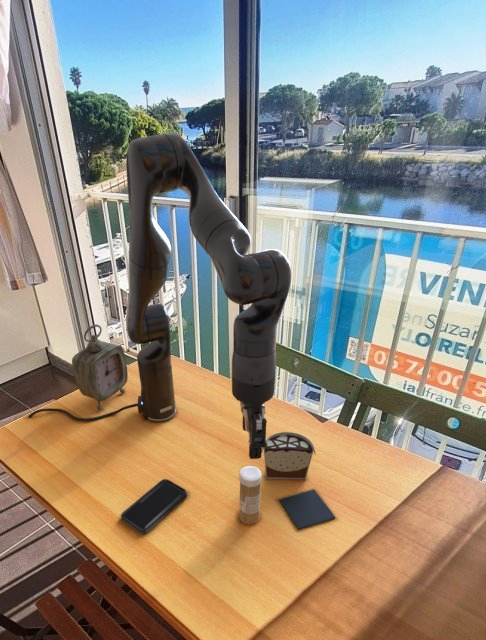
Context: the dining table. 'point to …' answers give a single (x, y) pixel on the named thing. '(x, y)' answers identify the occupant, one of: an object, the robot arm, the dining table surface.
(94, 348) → the tabletop clock
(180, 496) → the phone
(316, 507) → the slate coaster
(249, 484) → the sprinkles bottle
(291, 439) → the food container
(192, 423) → the dining table surface
